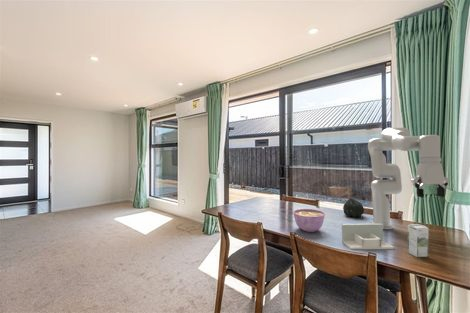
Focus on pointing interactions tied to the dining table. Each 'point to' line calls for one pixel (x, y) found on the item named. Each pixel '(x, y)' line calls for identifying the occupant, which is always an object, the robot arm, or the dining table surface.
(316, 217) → the bowl of food
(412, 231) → the syrup box
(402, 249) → the dining table surface
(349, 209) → the squash
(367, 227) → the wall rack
